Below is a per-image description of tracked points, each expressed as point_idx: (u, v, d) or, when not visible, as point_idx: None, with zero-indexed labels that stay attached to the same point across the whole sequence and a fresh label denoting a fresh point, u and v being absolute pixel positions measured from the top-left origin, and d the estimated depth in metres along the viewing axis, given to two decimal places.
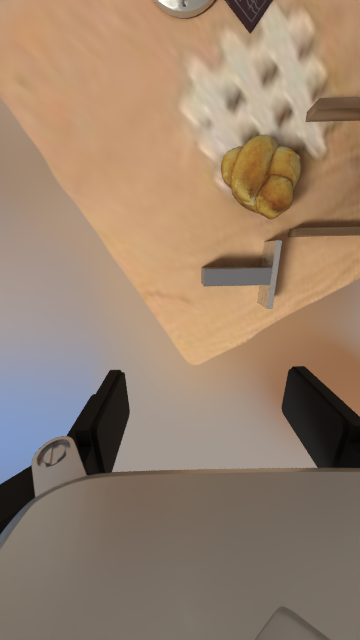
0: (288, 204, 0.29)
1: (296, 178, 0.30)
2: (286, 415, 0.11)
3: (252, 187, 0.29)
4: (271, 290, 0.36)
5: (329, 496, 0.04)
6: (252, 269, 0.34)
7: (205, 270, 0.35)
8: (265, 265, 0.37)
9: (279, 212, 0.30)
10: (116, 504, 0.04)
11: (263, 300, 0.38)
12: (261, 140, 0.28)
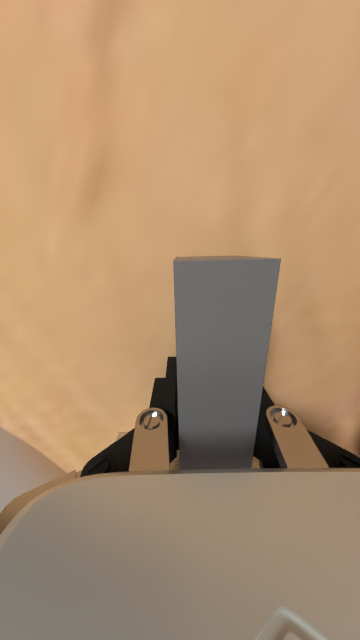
0: None
1: None
2: None
3: None
4: None
5: (330, 496, 0.04)
6: None
7: (272, 265, 0.06)
8: None
9: None
10: (116, 504, 0.04)
11: None
12: None
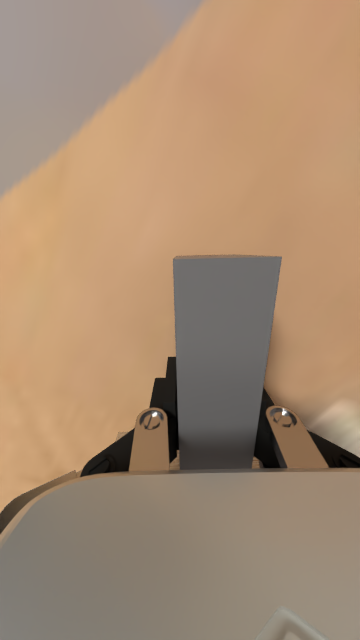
0: None
1: None
2: None
3: None
4: None
5: (330, 496, 0.04)
6: None
7: (273, 263, 0.05)
8: None
9: None
10: (116, 504, 0.04)
11: None
12: None
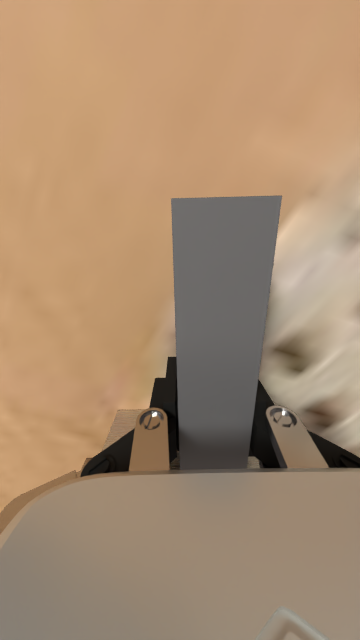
0: None
1: None
2: None
3: None
4: None
5: (330, 496, 0.04)
6: (246, 432, 0.08)
7: (273, 203, 0.05)
8: None
9: None
10: (116, 504, 0.04)
11: None
12: None
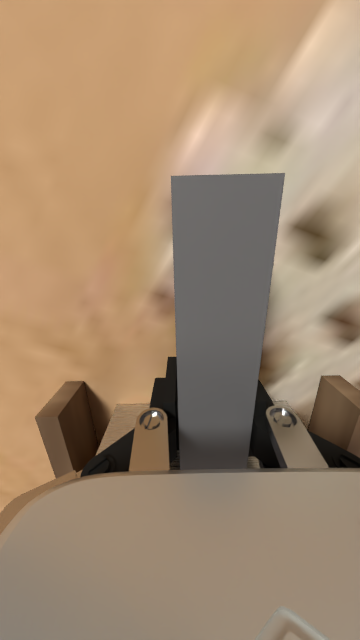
0: None
1: None
2: None
3: None
4: None
5: (330, 496, 0.04)
6: (247, 422, 0.08)
7: (276, 181, 0.05)
8: None
9: None
10: (116, 504, 0.04)
11: None
12: None
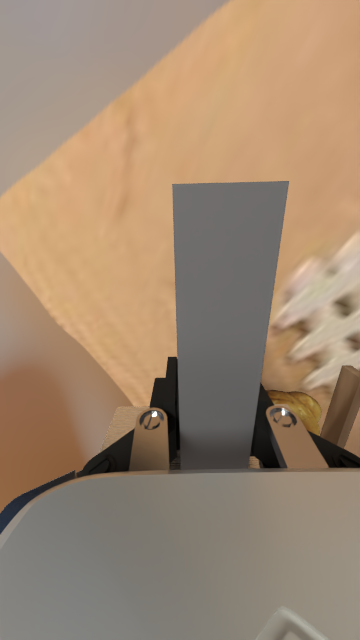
0: None
1: None
2: None
3: None
4: None
5: (330, 496, 0.04)
6: (248, 429, 0.08)
7: (279, 189, 0.05)
8: None
9: None
10: (116, 504, 0.04)
11: None
12: None
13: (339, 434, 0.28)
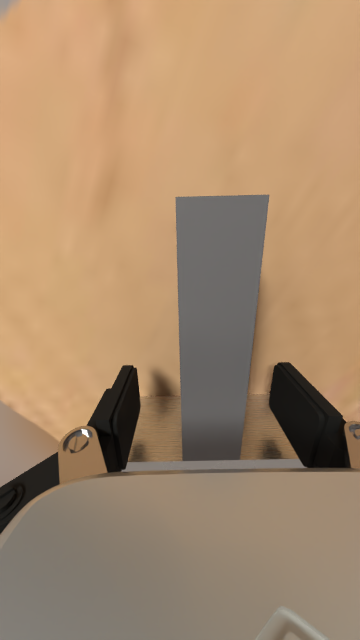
0: None
1: None
2: (272, 409, 0.11)
3: None
4: (163, 466, 0.10)
5: (330, 496, 0.04)
6: (241, 406, 0.09)
7: (262, 201, 0.06)
8: None
9: None
10: (116, 504, 0.04)
11: None
12: None
13: None
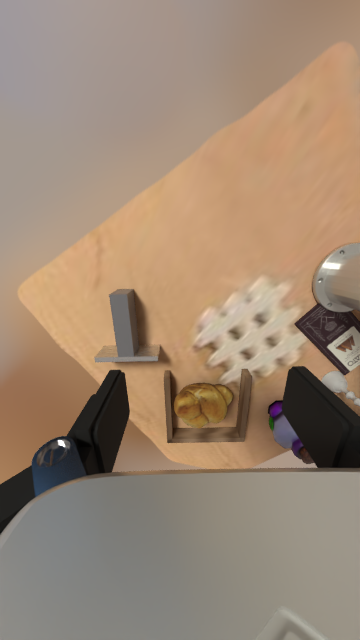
0: (178, 414, 0.38)
1: (184, 420, 0.42)
2: (286, 415, 0.11)
3: (206, 402, 0.39)
4: (113, 358, 0.37)
5: (329, 496, 0.04)
6: (130, 339, 0.36)
7: (125, 295, 0.33)
8: (138, 349, 0.40)
9: (178, 407, 0.38)
10: (116, 504, 0.04)
11: (104, 352, 0.39)
12: (220, 420, 0.41)
13: (242, 413, 0.44)
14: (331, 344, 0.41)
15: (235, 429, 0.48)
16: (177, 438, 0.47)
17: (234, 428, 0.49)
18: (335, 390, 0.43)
